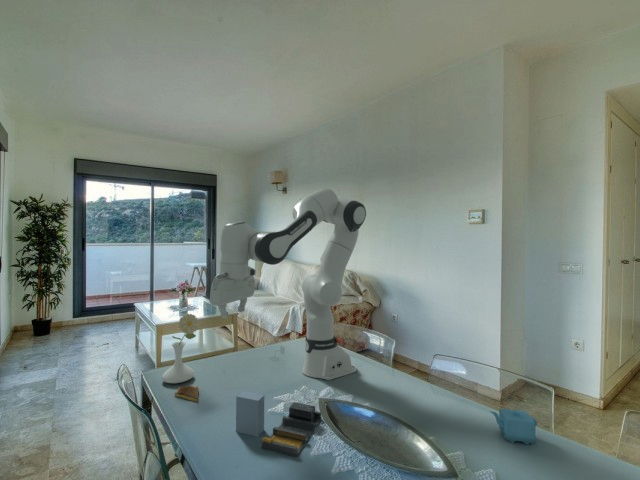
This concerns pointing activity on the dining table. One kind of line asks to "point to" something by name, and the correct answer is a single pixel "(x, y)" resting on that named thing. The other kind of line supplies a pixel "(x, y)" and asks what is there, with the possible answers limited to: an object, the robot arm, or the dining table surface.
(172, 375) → the flower in vase
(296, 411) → the rack
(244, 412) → the blue-grey rectangular block
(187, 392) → the shard
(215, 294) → the robot arm
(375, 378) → the dining table surface
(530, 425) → the teapot
